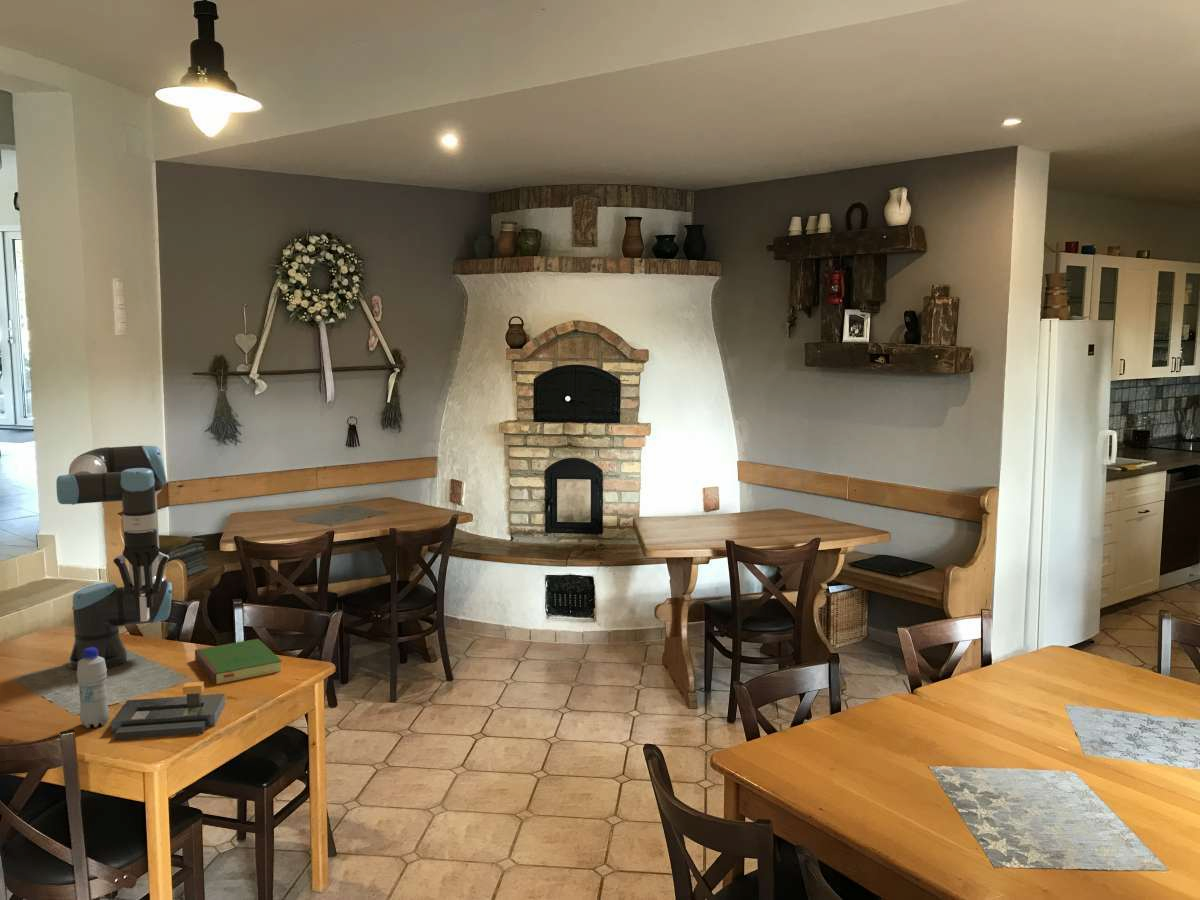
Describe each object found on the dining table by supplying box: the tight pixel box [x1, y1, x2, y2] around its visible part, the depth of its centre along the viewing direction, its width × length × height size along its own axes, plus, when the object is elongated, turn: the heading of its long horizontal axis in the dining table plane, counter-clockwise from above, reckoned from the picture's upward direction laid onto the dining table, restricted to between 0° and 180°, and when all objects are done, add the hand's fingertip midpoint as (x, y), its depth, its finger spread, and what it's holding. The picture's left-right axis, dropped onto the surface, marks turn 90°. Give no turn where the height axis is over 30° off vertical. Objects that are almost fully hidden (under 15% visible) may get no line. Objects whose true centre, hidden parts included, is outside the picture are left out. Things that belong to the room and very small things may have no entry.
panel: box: [110, 693, 226, 734], centre depth 241 cm, size 14×24×3 cm, turn 102°
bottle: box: [76, 647, 110, 729], centre depth 236 cm, size 7×7×20 cm
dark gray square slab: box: [114, 721, 207, 741], centre depth 240 cm, size 21×20×2 cm
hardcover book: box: [194, 638, 282, 686], centre depth 279 cm, size 25×19×4 cm
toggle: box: [182, 681, 205, 708], centre depth 241 cm, size 3×4×7 cm
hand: (145, 619), depth 240 cm, fingers closed
